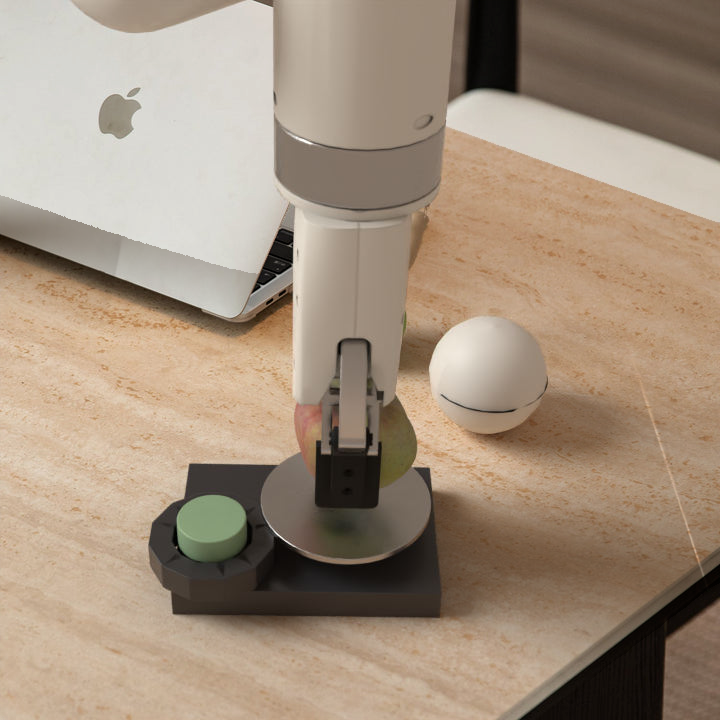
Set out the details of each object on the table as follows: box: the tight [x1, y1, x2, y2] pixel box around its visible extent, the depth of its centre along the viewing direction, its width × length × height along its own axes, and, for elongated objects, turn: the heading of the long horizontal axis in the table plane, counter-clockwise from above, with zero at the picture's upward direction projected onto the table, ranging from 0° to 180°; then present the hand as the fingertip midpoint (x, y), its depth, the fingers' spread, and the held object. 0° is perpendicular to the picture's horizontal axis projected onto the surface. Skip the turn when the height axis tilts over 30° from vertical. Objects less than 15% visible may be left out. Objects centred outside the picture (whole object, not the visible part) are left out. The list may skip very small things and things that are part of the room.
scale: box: [147, 462, 443, 619], centre depth 68 cm, size 15×11×4 cm
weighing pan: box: [261, 451, 431, 565], centre depth 67 cm, size 9×9×1 cm
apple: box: [293, 378, 418, 489], centre depth 65 cm, size 6×8×6 cm
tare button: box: [177, 495, 247, 563], centre depth 65 cm, size 4×4×2 cm
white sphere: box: [428, 315, 591, 435], centre depth 76 cm, size 10×7×7 cm
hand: (346, 457), depth 65 cm, fingers closed on apple, 6 cm apart
